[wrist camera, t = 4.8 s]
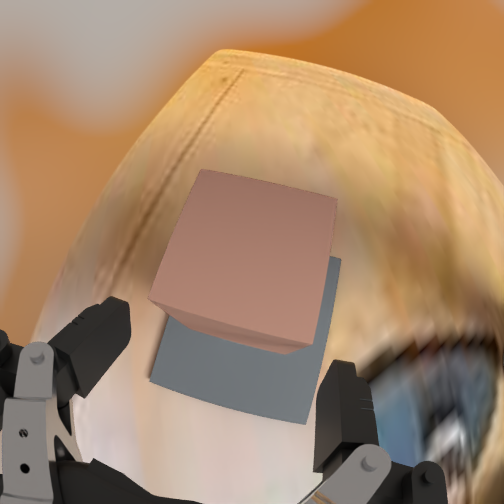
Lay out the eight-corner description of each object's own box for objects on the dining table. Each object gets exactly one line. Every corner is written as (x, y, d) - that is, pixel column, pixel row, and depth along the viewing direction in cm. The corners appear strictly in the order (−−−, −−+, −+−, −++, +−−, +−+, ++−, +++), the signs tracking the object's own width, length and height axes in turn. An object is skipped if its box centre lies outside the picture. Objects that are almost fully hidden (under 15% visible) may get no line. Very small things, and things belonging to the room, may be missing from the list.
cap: (217, 243, 20) (201, 168, 12) (305, 264, 19) (337, 198, 12) (189, 329, 17) (147, 299, 10) (285, 354, 17) (312, 344, 9)
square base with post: (202, 228, 32) (167, 103, 16) (339, 261, 31) (413, 155, 15) (151, 381, 26) (37, 384, 9) (304, 423, 24) (377, 488, 8)
